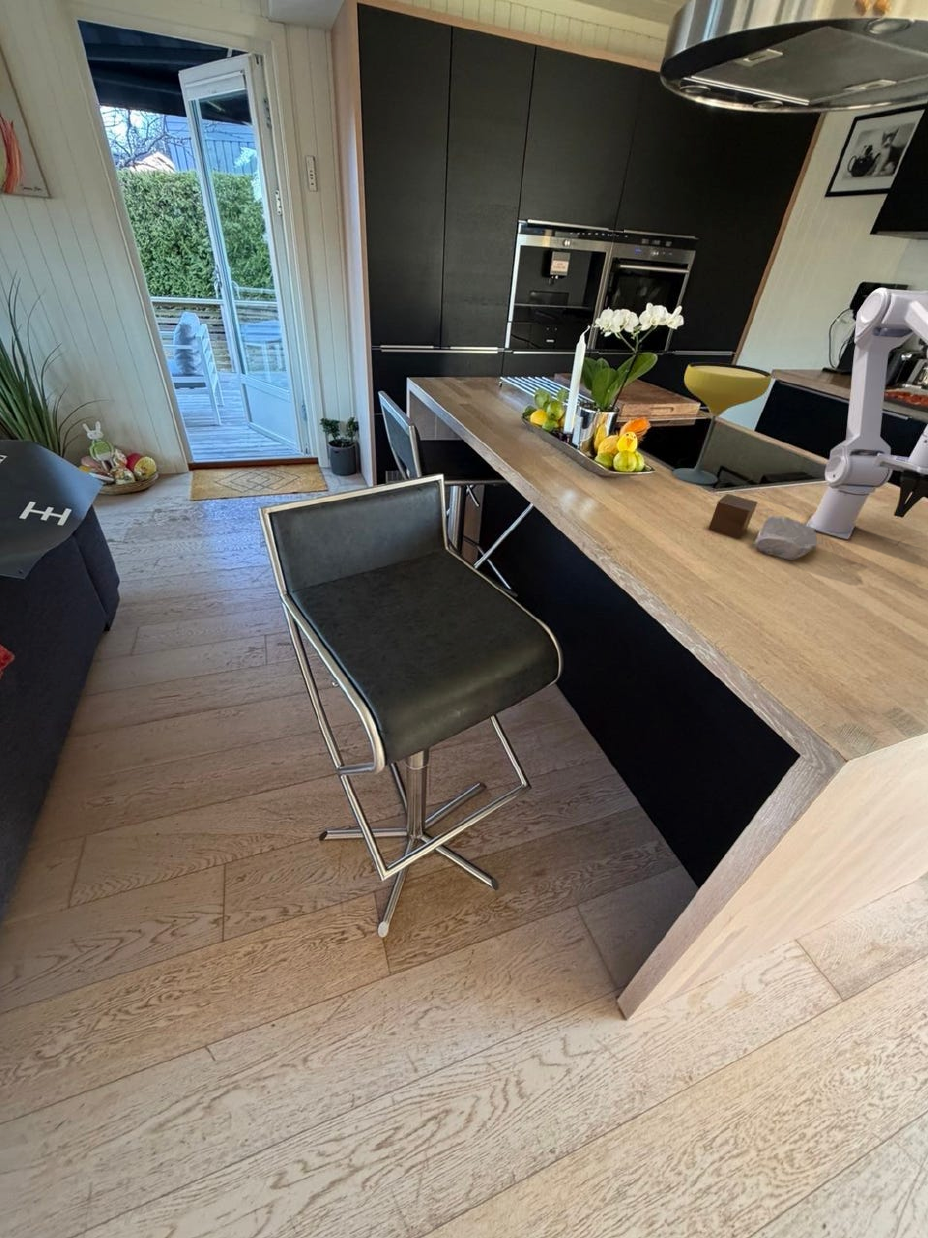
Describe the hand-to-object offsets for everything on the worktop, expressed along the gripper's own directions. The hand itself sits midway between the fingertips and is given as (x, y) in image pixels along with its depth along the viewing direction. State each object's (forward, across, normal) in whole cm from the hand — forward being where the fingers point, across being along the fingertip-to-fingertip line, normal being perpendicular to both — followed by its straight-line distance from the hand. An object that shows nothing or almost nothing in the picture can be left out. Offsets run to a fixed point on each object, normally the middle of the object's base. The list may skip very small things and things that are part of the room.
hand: (898, 515), depth 93 cm
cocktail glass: (+10, -41, +21) cm, 47 cm away
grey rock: (+10, -14, -6) cm, 18 cm away
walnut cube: (+9, -25, -6) cm, 27 cm away
